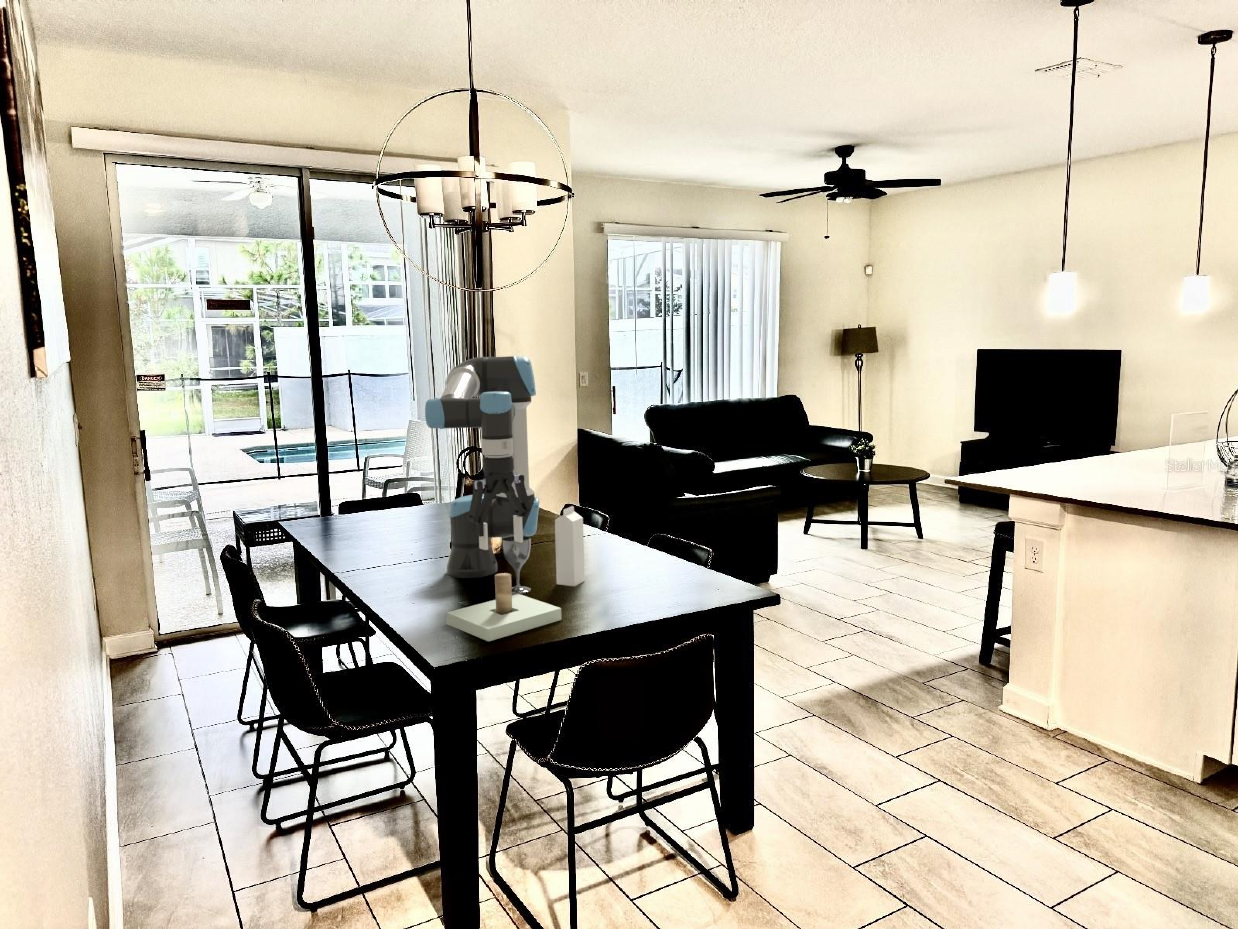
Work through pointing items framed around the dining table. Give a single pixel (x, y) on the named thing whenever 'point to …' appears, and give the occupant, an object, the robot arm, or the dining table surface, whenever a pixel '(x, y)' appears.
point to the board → (503, 618)
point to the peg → (503, 593)
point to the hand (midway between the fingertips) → (501, 545)
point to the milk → (569, 548)
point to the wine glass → (517, 557)
